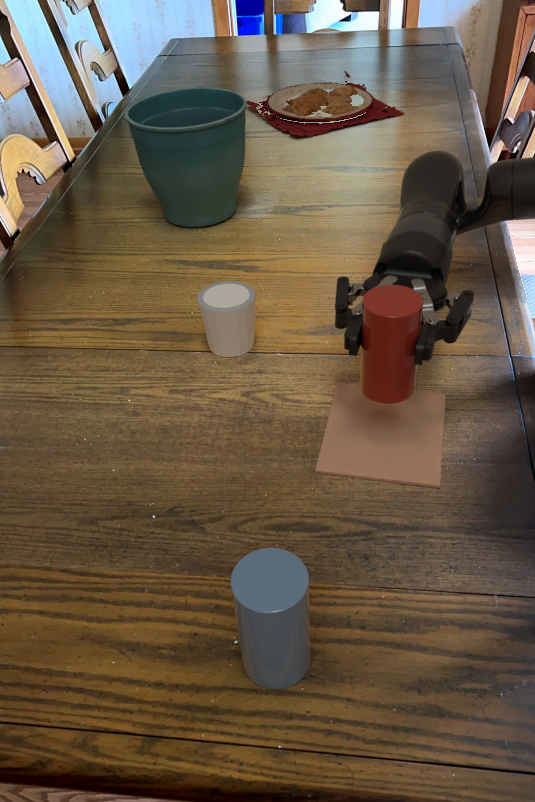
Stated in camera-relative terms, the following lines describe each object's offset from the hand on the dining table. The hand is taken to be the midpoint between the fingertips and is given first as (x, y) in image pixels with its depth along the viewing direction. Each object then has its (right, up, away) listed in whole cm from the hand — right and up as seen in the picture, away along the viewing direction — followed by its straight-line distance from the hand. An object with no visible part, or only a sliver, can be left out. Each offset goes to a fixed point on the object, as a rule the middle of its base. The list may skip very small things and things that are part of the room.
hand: (384, 352), depth 65 cm
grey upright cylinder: (-10, -24, -9) cm, 28 cm away
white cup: (-15, +2, +23) cm, 28 cm away
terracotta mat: (+1, -8, +10) cm, 12 cm away
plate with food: (+1, +57, +87) cm, 104 cm away
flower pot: (-22, +26, +52) cm, 63 cm away
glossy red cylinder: (+1, -3, +6) cm, 7 cm away
